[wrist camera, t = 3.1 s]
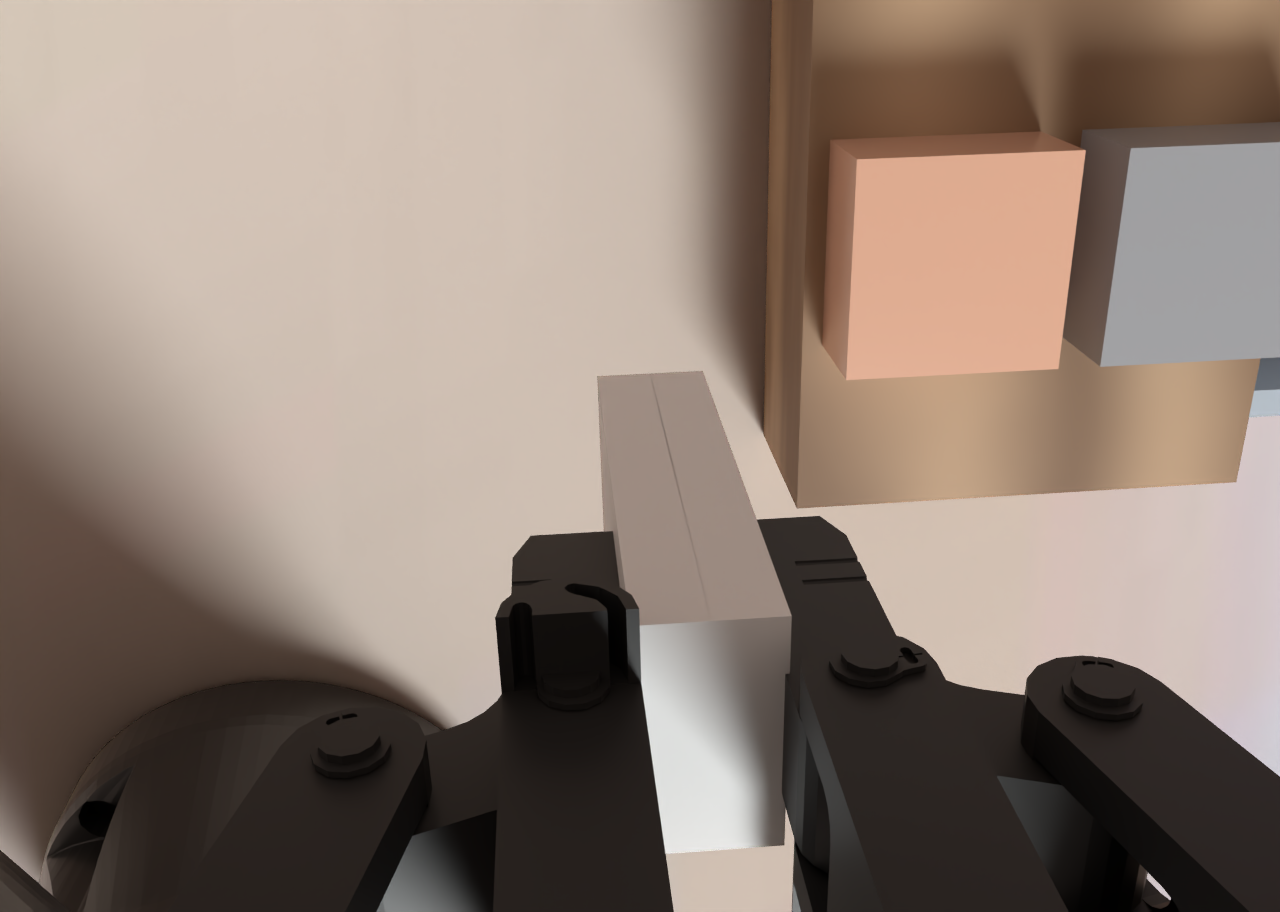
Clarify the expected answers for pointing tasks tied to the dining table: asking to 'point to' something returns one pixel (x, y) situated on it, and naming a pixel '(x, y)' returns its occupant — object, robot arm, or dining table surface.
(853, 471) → the brown block
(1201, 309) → the slate-grey tile
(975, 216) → the terracotta tile
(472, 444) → the dining table surface
